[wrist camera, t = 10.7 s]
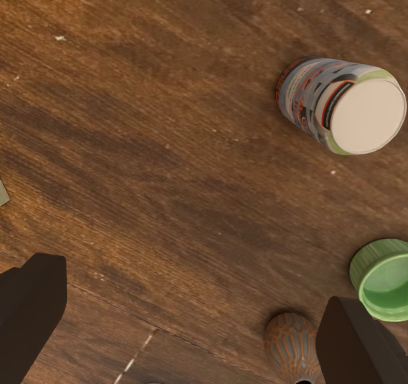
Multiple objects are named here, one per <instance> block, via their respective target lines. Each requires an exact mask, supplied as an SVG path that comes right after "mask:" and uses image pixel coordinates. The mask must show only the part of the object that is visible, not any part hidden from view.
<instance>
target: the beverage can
mask: <svg viewBox="0 0 408 384" xmlns="http://www.w3.org/2000/svg"><path fill="white" fill-rule="evenodd" d="M275 100H276V104H277V107H278V109H279V110H280V112H281V113H282V114H283V115H284V116H285V117H286V118H287V119H289V120H290V121H291V122H293V123H294V124H295V125H296V126H298V127H299V128H300V129H302V130H303V131H304V132H306V133H307V134H308V135H309V136H311V137H312V138H313V139H315V140H316V141H317V142H319V143H320V144H321V145H322V146H324V147H325V148H327V149H328V150H330V151H332V152H334V153H337V154H342V155H355V154H366V153H370V152H373V151H376V150H378V149H380V148H381V147H383V146H384V145H386V144H387V143H388V142H389V141H390V140H392V138H393V137H394V136H395V135H396V134H397V132H398V131H399V129H400V128H401V126H402V124H403V121H404V118H405V115H406V99H405V95H404V93H403V91H402V90H401V88H400V86H399V84H398V82H397V81H396V79H395V78H394V77H393V76H392V75H391V74H390V73H389V72H387V71H385V70H383V69H381V68H379V67H374V66H369V65H364V64H358V63H352V62H347V61H341V60H335V59H330V58H324V57H318V56H305V57H302V58H299V59H297V60H295V61H293V62H292V63H291V64H289V65H288V66H287V67H286V68H285V69H284V71H283V72H282V74H281V75H280V77H279V79H278V81H277V85H276V89H275Z"/></svg>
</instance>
